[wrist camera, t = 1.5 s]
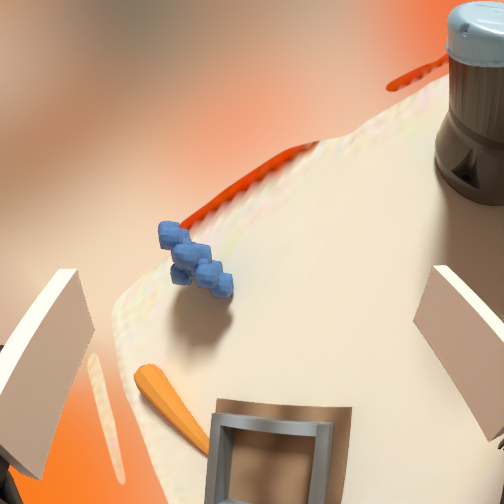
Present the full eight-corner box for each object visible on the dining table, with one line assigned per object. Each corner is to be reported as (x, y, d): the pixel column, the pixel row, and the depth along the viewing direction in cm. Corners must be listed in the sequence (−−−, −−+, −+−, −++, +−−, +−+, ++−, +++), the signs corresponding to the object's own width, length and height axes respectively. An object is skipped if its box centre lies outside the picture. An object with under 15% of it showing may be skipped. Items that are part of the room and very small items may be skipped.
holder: (351, 407, 29) (346, 409, 25) (335, 531, 22) (327, 547, 19) (220, 398, 36) (201, 397, 32) (211, 508, 29) (191, 517, 25)
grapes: (180, 271, 47) (125, 236, 37) (210, 240, 47) (162, 197, 37) (219, 326, 40) (160, 299, 30) (256, 290, 40) (206, 252, 30)
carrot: (149, 375, 42) (125, 382, 39) (158, 356, 41) (133, 362, 38) (240, 476, 33) (218, 492, 29) (256, 461, 31) (233, 478, 28)
